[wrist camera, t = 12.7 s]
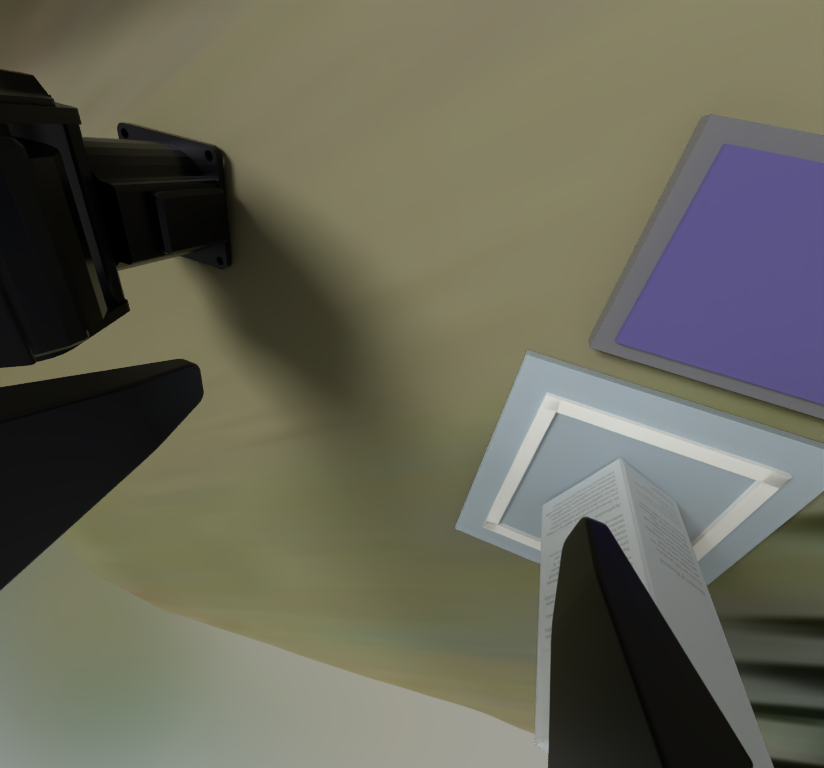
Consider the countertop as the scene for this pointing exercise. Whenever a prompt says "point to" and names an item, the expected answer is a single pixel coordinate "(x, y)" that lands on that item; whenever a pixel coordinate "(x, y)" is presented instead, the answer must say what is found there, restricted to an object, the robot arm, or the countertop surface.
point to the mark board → (636, 461)
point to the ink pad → (731, 268)
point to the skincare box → (662, 577)
